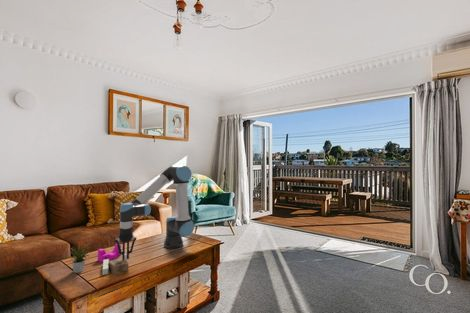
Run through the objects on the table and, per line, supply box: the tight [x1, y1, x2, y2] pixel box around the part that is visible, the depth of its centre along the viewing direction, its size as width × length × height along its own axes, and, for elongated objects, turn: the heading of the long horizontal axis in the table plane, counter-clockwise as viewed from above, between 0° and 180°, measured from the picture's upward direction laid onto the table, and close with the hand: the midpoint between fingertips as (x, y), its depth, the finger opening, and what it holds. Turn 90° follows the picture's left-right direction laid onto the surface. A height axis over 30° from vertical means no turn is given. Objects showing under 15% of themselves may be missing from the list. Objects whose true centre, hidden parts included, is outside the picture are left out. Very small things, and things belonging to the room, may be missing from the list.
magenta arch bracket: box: [97, 243, 122, 263], centre depth 177 cm, size 15×6×8 cm, turn 149°
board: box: [102, 259, 110, 276], centre depth 159 cm, size 3×16×4 cm, turn 26°
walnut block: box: [108, 257, 129, 276], centre depth 158 cm, size 8×12×5 cm, turn 43°
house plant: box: [67, 244, 90, 274], centre depth 155 cm, size 14×14×16 cm
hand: (125, 264), depth 163 cm, fingers closed
